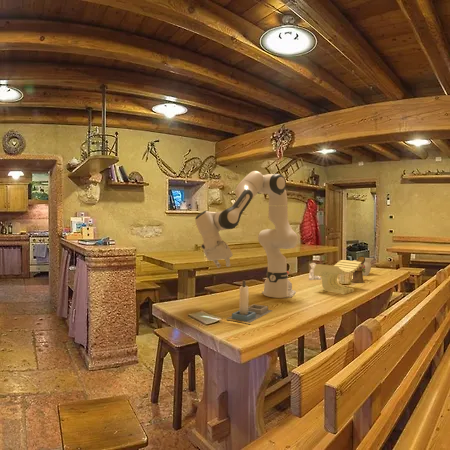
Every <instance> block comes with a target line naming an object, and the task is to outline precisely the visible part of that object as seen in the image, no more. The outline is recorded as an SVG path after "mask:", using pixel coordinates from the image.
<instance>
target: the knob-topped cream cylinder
mask: <svg viewBox="0 0 450 450" xmlns="http://www.w3.org/2000/svg"><path fill="white" fill-rule="evenodd" d="M241 284H242V285H241V286H239V310H240V315H246V316H247V315H248V306H249V286H247V285H246V280H245V279H243V280H242V283H241Z"/></svg>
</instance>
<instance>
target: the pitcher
mask: <svg viewBox="0 0 450 450" xmlns="http://www.w3.org/2000/svg"><path fill="white" fill-rule="evenodd" d="M364 258H365V262H364V263H363V264H361V267H362V274H363V277H364V276H368V275H370V273H371V270H372V263H371V262H372V261H373V260H374V259H375V258H371V257H364ZM352 261H357V259H354V260H352Z"/></svg>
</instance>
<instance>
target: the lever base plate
mask: <svg viewBox="0 0 450 450" xmlns="http://www.w3.org/2000/svg"><path fill="white" fill-rule="evenodd" d="M273 311H274V310H273V309H272V310H271V309H269V306H266V305H261V304H255V303H253V304H251V305H248V315H247V316H246V315H240V309H239V310H237V311H235V312H233V313H231V316H228V317H227V318H226V320H225V321H227V322H232V323H239V324H244V325H249V326H250V325H252V324H250V323H252V322H254V321H256V320H257V319H260V318H262V317H263V316H265V315H268V314H269V313H272V312H273Z"/></svg>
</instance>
